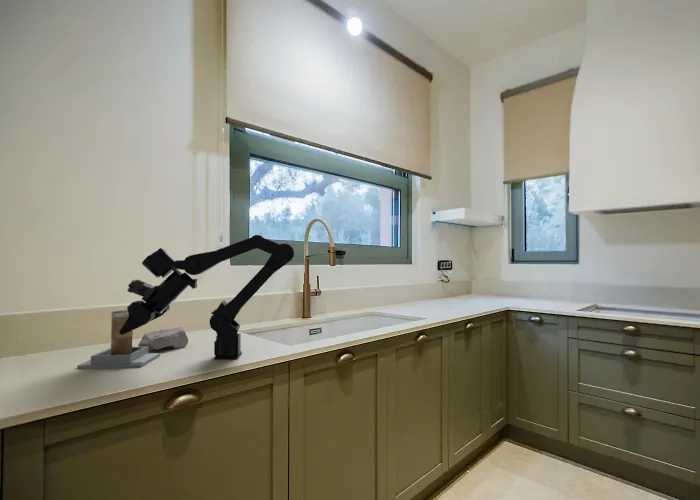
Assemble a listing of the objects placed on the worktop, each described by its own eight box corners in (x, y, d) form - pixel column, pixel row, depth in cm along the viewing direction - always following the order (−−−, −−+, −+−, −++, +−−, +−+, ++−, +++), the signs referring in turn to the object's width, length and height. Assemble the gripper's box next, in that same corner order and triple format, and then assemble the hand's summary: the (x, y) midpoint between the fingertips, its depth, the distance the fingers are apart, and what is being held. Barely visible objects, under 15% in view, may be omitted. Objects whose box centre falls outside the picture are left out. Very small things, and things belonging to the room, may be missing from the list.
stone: (145, 355, 110) (146, 335, 110) (137, 349, 117) (137, 330, 117) (191, 348, 119) (191, 330, 119) (181, 343, 126) (181, 325, 126)
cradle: (160, 356, 108) (160, 345, 108) (141, 367, 97) (141, 355, 97) (102, 357, 107) (103, 346, 107) (77, 368, 96) (77, 356, 96)
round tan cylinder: (136, 357, 104) (137, 310, 104) (120, 362, 99) (121, 313, 99) (122, 355, 105) (123, 309, 105) (105, 360, 100) (107, 312, 100)
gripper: (158, 268, 113) (118, 306, 110) (136, 270, 95) (87, 315, 92) (185, 293, 114) (146, 331, 112) (169, 300, 96) (122, 345, 94)
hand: (127, 330), depth 102 cm, fingers open, 9 cm apart
